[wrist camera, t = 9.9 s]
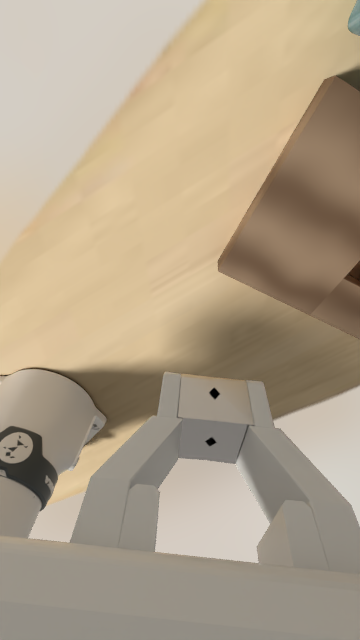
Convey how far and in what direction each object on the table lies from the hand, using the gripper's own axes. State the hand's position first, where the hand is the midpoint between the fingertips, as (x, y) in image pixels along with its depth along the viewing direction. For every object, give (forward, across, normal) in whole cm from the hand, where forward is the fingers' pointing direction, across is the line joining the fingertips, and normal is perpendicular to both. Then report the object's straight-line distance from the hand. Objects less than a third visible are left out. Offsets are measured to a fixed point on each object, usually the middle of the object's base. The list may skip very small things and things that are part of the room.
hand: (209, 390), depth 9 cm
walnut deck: (+22, -14, +1) cm, 26 cm away
